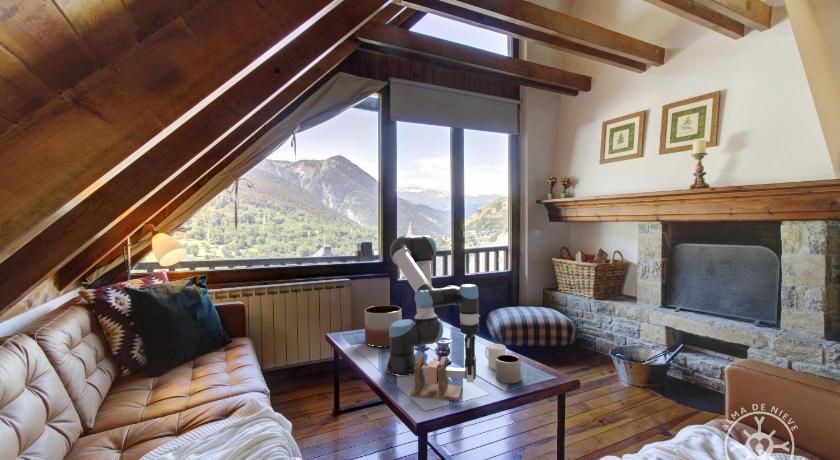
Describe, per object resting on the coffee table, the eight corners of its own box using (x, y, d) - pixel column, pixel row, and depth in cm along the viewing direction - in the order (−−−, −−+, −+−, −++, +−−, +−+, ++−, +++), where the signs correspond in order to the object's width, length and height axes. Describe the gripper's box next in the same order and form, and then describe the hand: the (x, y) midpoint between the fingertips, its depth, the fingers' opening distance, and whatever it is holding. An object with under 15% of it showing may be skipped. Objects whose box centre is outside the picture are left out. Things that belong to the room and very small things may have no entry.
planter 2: (493, 375, 181) (492, 354, 181) (516, 374, 182) (516, 353, 182) (500, 385, 170) (499, 363, 170) (524, 383, 171) (524, 362, 171)
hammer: (417, 375, 165) (417, 356, 164) (419, 371, 168) (419, 353, 168) (475, 379, 159) (474, 360, 159) (476, 375, 163) (475, 356, 162)
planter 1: (401, 348, 223) (400, 313, 222) (362, 349, 223) (361, 313, 222) (403, 336, 245) (402, 304, 244) (368, 337, 245) (367, 305, 244)
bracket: (409, 396, 162) (409, 363, 162) (416, 385, 173) (415, 354, 172) (458, 400, 157) (457, 366, 157) (462, 388, 168) (461, 357, 167)
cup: (497, 371, 185) (496, 350, 185) (479, 364, 195) (479, 344, 195) (509, 367, 190) (509, 346, 190) (492, 360, 200) (491, 340, 200)
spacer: (427, 383, 162) (426, 366, 162) (430, 376, 169) (430, 360, 169) (436, 384, 161) (436, 367, 161) (440, 377, 168) (439, 361, 168)
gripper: (476, 329, 151) (478, 389, 152) (480, 317, 168) (481, 372, 169) (457, 328, 153) (458, 387, 154) (463, 317, 170) (464, 370, 170)
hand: (470, 379), depth 161 cm, fingers closed on hammer, 4 cm apart
